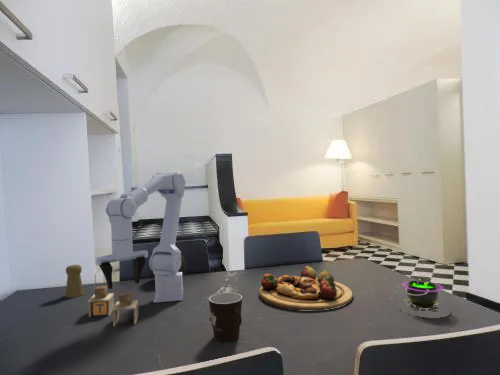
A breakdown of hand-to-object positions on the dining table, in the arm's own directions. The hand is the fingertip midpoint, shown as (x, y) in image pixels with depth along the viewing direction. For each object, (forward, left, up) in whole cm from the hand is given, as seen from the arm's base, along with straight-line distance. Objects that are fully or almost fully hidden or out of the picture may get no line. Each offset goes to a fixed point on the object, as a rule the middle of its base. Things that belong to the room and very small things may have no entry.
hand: (123, 285), depth 101 cm
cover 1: (+9, -9, -10) cm, 16 cm away
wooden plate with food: (-58, -10, -11) cm, 60 cm away
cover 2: (0, 0, -10) cm, 10 cm away
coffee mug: (-28, +18, -11) cm, 35 cm away
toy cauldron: (-88, +11, -11) cm, 89 cm away
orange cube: (+9, -9, -10) cm, 16 cm away
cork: (+24, -30, -11) cm, 39 cm away
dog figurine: (-30, -4, -11) cm, 32 cm away
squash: (-9, -41, -11) cm, 43 cm away
